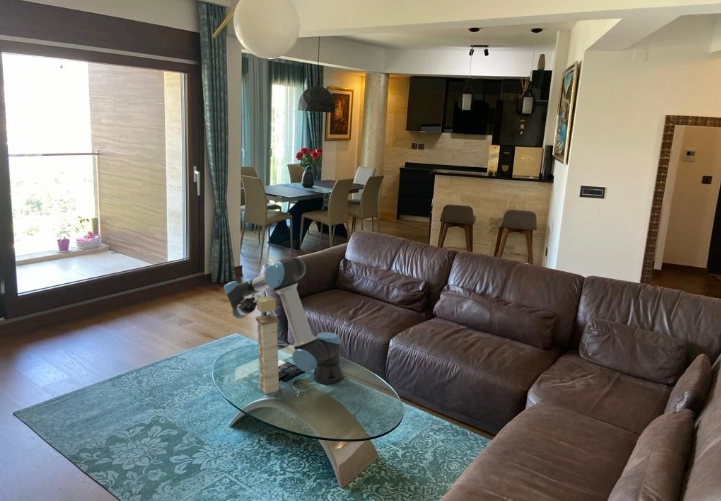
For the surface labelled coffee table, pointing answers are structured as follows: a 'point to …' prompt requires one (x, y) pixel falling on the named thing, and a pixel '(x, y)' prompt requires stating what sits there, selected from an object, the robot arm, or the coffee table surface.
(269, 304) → the bar
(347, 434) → the coffee table surface
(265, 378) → the pedestal
